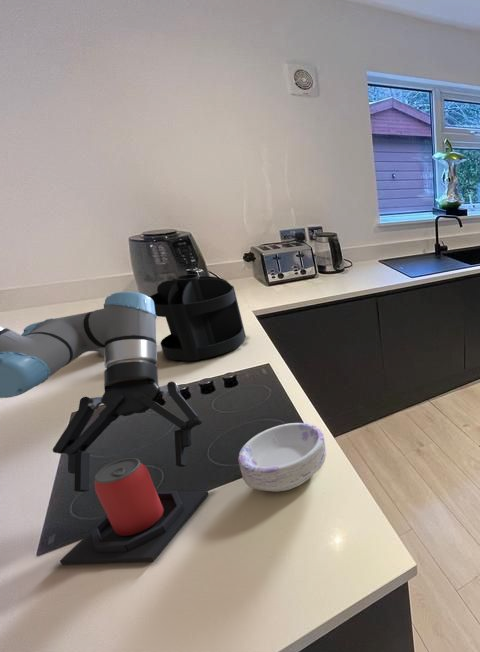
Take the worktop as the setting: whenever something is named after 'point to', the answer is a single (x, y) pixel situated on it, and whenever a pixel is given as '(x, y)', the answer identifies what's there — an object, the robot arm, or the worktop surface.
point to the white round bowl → (282, 457)
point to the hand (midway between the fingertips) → (133, 478)
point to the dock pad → (141, 546)
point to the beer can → (128, 496)
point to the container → (199, 317)
